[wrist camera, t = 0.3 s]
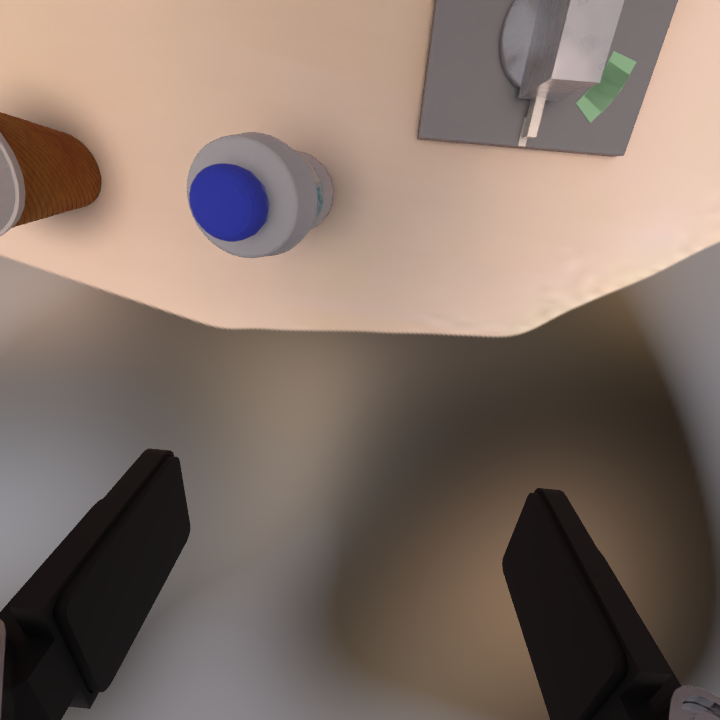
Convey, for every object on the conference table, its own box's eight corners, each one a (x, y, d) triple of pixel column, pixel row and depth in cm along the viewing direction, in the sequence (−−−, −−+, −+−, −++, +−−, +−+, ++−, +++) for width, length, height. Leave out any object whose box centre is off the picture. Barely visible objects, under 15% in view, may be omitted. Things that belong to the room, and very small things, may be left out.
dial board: (447, -94, 26) (451, -110, 24) (690, -73, 26) (709, -88, 24) (417, 139, 32) (419, 137, 30) (613, 156, 32) (624, 155, 30)
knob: (616, -33, 25) (694, -103, 19) (566, 142, 30) (616, 132, 24) (515, -42, 25) (560, -115, 19) (481, 135, 30) (508, 123, 24)
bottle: (350, 175, 33) (317, 169, 15) (318, 242, 36) (259, 304, 18) (283, 134, 32) (162, 77, 14) (255, 207, 35) (124, 235, 17)
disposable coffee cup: (119, 131, 33) (-8, 107, 22) (117, 238, 37) (9, 262, 26) (8, 92, 32) (-183, 47, 21) (18, 206, 36) (-136, 217, 25)
